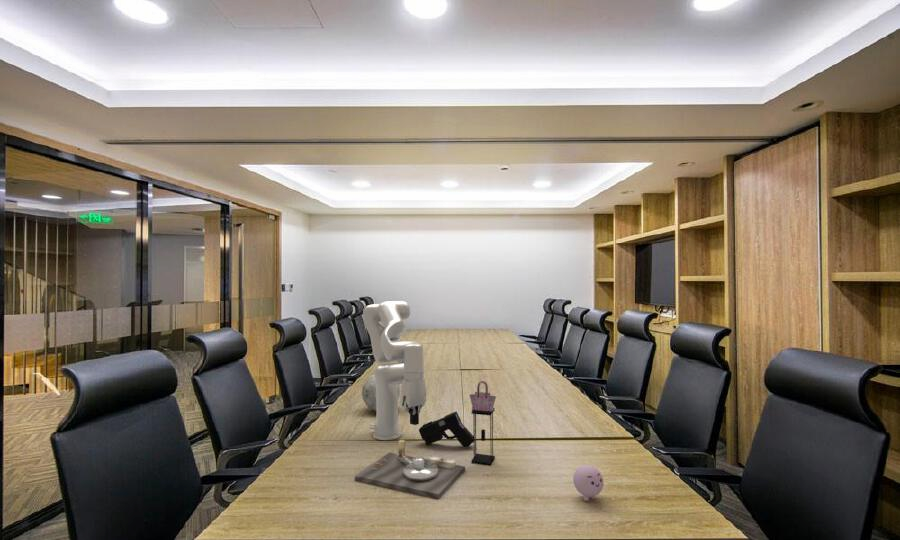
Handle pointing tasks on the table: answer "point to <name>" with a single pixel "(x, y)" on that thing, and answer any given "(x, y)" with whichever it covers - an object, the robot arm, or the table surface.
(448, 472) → the level board
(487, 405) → the handbag
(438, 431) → the toy
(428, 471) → the crank handle
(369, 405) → the decorative sphere
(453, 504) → the table surface
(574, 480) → the toy
